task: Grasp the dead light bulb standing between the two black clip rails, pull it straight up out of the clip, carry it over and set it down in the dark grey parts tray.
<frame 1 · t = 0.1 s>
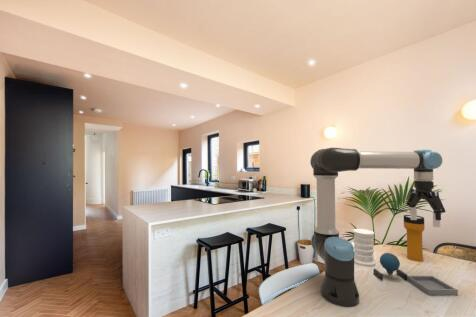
hand: (424, 223, 111), 28 cm above the table, fingers open, 13 cm apart
light bulb: (389, 278, 113), on the table
decorative container: (363, 262, 131), on the table
parts tray: (430, 287, 103), on the table
flashlight: (414, 259, 136), on the table
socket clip: (389, 277, 113), on the table
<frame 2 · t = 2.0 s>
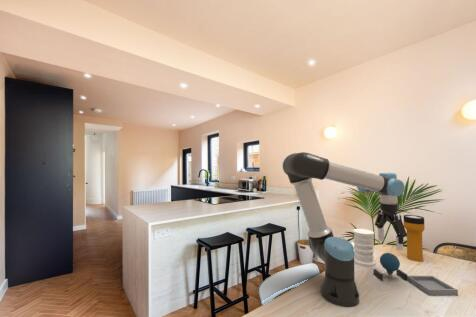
hand: (389, 245, 113), 16 cm above the table, fingers open, 13 cm apart
nothing on the table moved.
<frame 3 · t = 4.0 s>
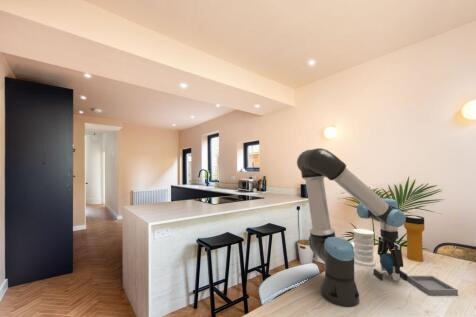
hand: (389, 274, 113), 1 cm above the table, fingers closed on light bulb, 8 cm apart
light bulb: (389, 277, 113), on the table, touching gripper
everything else where it was.
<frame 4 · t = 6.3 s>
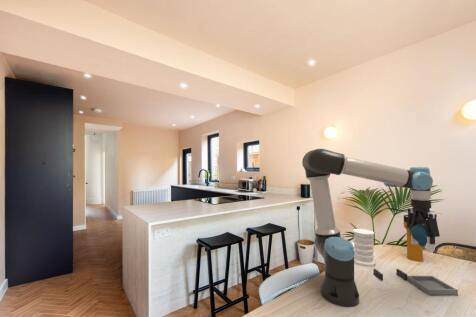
hand: (422, 247, 106), 18 cm above the table, fingers closed on light bulb, 8 cm apart
light bulb: (422, 250, 106), point 16 cm above the table, touching gripper
everything else where it was.
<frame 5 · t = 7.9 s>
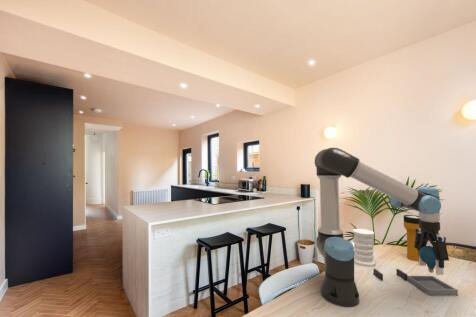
hand: (430, 269, 104), 8 cm above the table, fingers closed on light bulb, 8 cm apart
light bulb: (431, 273, 104), point 7 cm above the table, touching gripper
everything else where it was.
when the fingers open (4 cm above the table, at t = 9.1 s): light bulb drops 2 cm, resting on parts tray.
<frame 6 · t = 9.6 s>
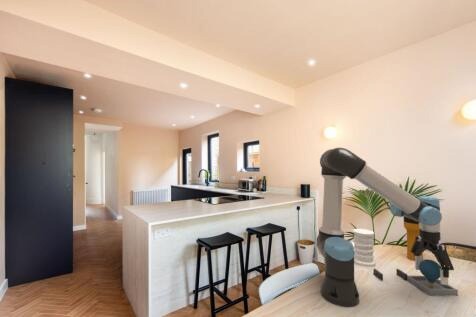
hand: (430, 276, 104), 5 cm above the table, fingers open, 13 cm apart
light bulb: (431, 287, 103), resting on parts tray
everything else where it was.
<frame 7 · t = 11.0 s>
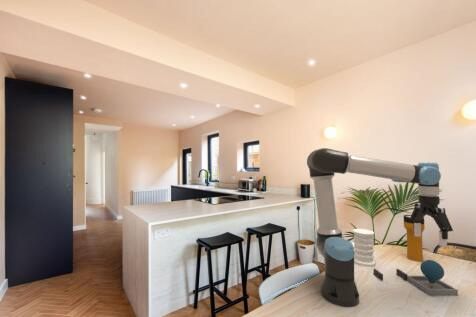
hand: (429, 241, 104), 21 cm above the table, fingers open, 13 cm apart
nothing on the table moved.
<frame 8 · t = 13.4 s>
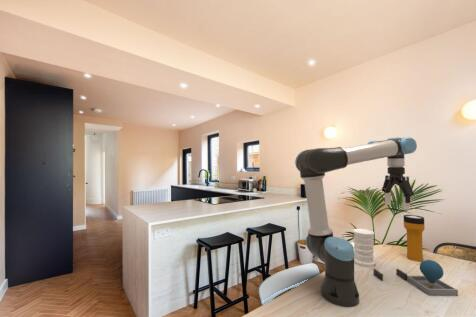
hand: (396, 207, 118), 35 cm above the table, fingers open, 13 cm apart
nothing on the table moved.
at the end: light bulb inside the target area on the parts tray (0.3 cm from its centre), point 0.4 cm above the parts tray's base; the gripper is holding nothing; light bulb inside the target area (8.4 cm from its centre), resting on parts tray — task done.
